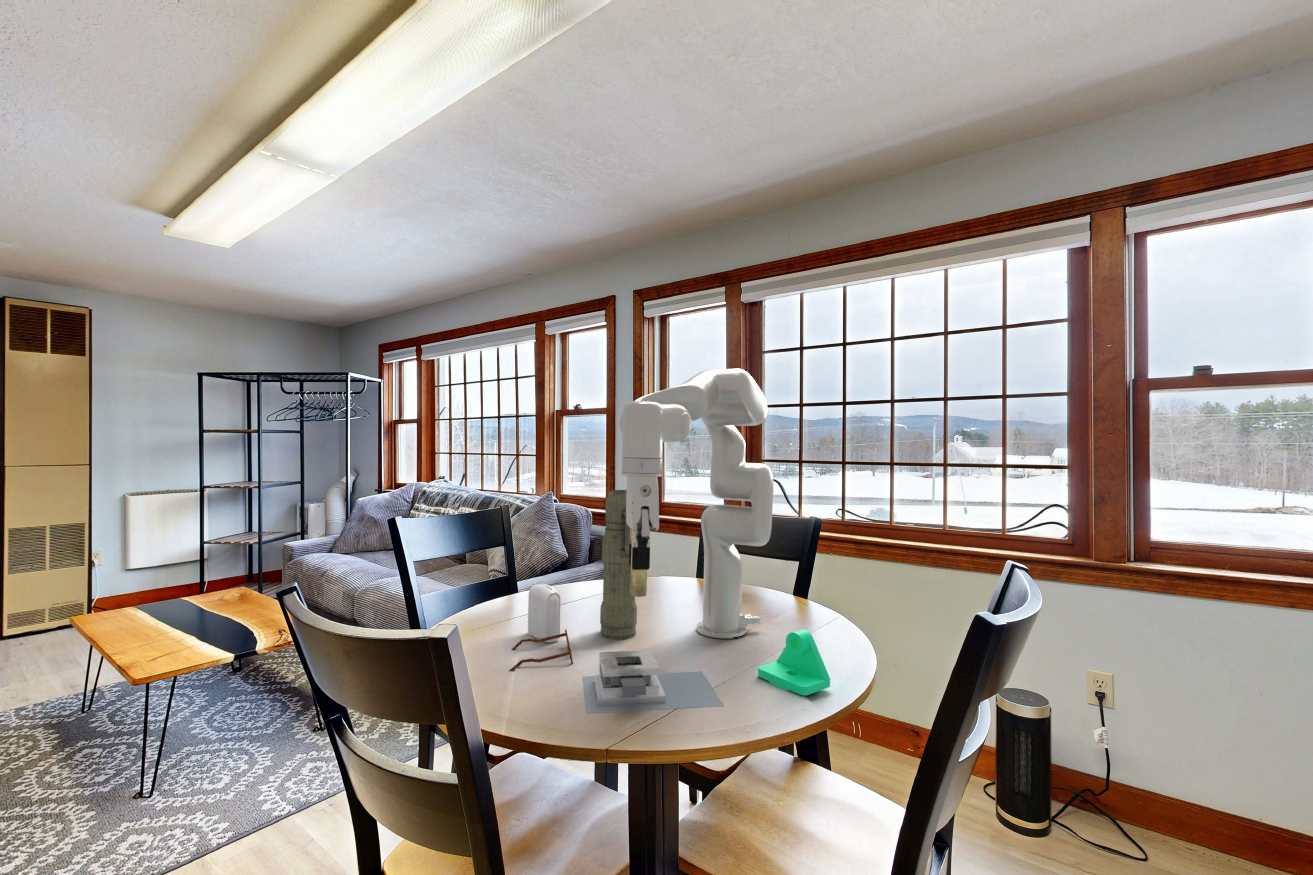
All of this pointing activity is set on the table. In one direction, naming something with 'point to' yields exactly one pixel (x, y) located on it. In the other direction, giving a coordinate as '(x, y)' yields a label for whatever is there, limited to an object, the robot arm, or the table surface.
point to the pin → (638, 577)
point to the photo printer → (543, 612)
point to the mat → (678, 691)
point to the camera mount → (797, 666)
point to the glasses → (545, 657)
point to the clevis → (628, 679)
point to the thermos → (617, 572)
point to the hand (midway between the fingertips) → (639, 566)
